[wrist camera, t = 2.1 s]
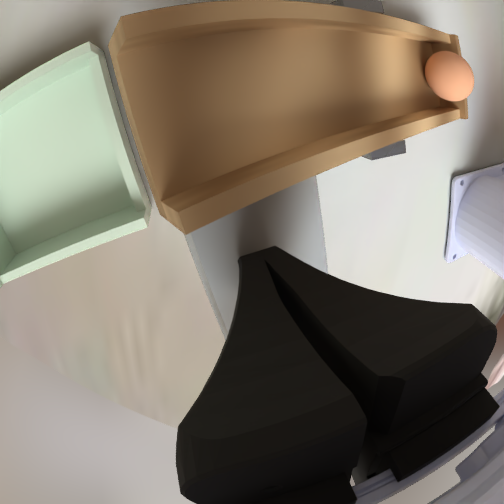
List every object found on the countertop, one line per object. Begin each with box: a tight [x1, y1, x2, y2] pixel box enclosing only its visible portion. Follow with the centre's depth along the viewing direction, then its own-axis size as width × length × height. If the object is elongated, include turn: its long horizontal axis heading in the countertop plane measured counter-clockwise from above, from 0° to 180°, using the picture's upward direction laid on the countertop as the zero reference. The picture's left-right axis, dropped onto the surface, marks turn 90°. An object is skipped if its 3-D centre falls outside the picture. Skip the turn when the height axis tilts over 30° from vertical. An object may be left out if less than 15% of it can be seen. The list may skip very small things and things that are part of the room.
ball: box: [425, 51, 474, 101], centre depth 12 cm, size 3×3×3 cm
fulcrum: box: [329, 0, 406, 160], centre depth 12 cm, size 10×7×5 cm
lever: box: [108, 0, 468, 340], centre depth 11 cm, size 18×11×3 cm, turn 103°
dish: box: [0, 41, 152, 288], centre depth 11 cm, size 10×9×4 cm
